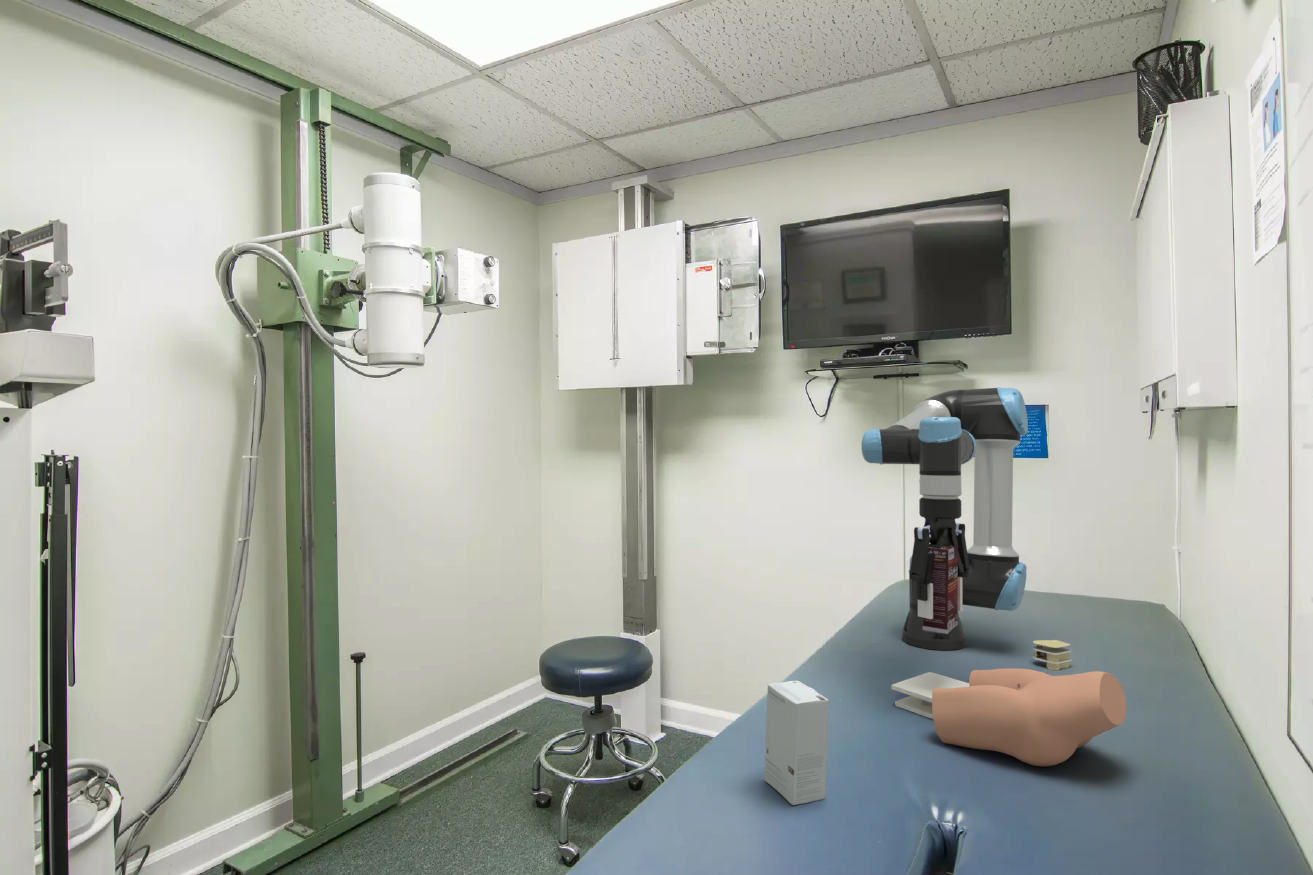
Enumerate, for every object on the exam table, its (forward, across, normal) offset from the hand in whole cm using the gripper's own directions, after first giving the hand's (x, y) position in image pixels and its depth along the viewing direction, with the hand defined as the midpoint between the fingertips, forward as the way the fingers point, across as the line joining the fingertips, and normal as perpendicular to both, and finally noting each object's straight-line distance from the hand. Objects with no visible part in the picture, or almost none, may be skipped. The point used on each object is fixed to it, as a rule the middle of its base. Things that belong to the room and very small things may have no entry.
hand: (940, 613), depth 133 cm
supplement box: (+3, 0, 0) cm, 3 cm away
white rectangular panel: (+18, 0, 0) cm, 18 cm away
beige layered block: (+19, -44, +1) cm, 47 cm away
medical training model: (+19, +4, +19) cm, 27 cm away
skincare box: (+19, +46, +5) cm, 50 cm away
